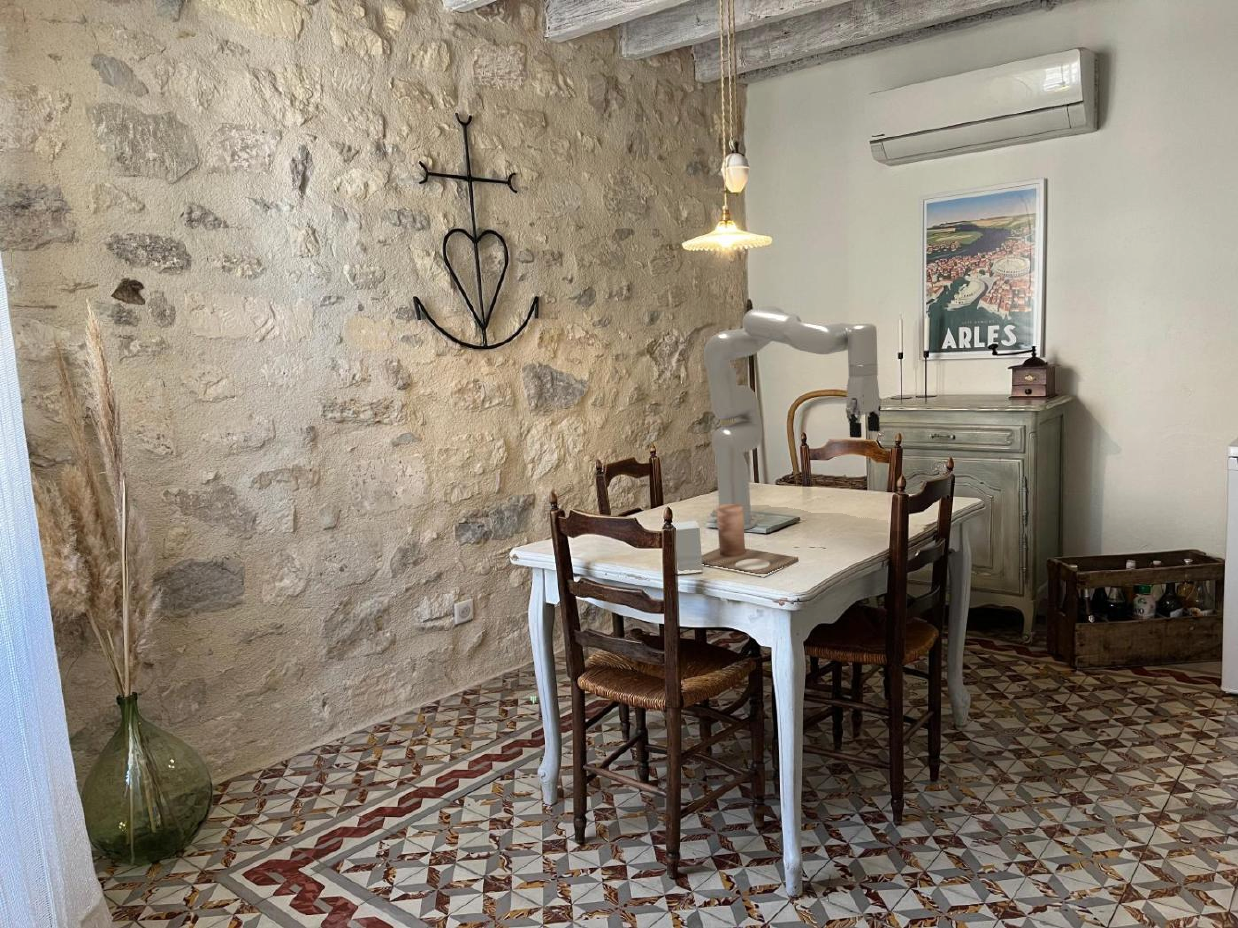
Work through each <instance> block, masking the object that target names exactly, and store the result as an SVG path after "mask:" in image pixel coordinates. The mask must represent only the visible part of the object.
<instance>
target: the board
mask: <svg viewBox="0 0 1238 928" xmlns="http://www.w3.org/2000/svg"><path fill="white" fill-rule="evenodd" d="M716 510H717V517H718V528H717V531H718V533H717V534H718V548H715V549H714V550H712V551H709V552H707V553H705V554H701V555H702V564H704V565H709V566H718V567H723V568H728V569H734V570H739V571H744V572H750V573H755V574H768V573H770V572H772V571H775V570H777V569H780V568H782V567H785V566H787V567H789V566H791V565H793V564H795V563H798V562H799V557H798V556H794V555H793V556H791V555H785V554H779V553H774V552H768V551H762V550H757V549H756V550H755V549H751V548H746V546H745V545H746V544H745V543H746V542H745V530H744V521H743V506H742V505H739V504H725V505H720V506H719V505H718V506H717V507H716ZM717 517H716V518H717ZM785 568H786V567H785Z"/></svg>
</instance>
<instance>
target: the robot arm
mask: <svg viewBox="0 0 1238 928" xmlns="http://www.w3.org/2000/svg"><path fill="white" fill-rule="evenodd" d="M741 325H742V327H741V328H737V329H736V328H735V329H729V330H723V331H720V332H717V333H716V334H713V336H711V337H710V338H709V339H708V340H707V342H706V343H705V346H704V347H703V348H704V349H703V362H704V366H705V371H706V374H707V375H706V376H707V380H708V390H709V396H710V401H711V409H712V413H713V416H714V417H715V418H716V419H718V420H720V421H730V420H733V421H734V422H733V423H728V424H726V425H722V426H720V427H719V428H718V429H717V428H716V430H715V432H714V433H713V434H712V439H711V447H712V449H713V454H714V458H715V465H716V475H717V491H718V496H717V497H718V506H720V505H725V504H739V505H742V506H743V521H744V531H745V530H750V529H753V528H755V527H756V525H757V520H756V519H755V518H753V517H752V516H751V515H752V513H751V494H750V479H749V476H750V475H749V467H748V463H747V460H746V459H745V456H744V453H747V452H751V451H753V450H755V449H757V448H758V447H759V446H760V444H761V443H762V440H763V425H762V419H761V412H760V411H761V410H760V404H759V400H758V396H757V394H756V393H755V392H754V390H753V389H752V388H751V387H750V386H748V385H743V384H742V385H738V381H737V372H736V370H735V367H734V366H733V365H732V363H731V362H730V361H731V360H734V359H740V358H746V357H750V356H754V355H755V354H757V353H759V352H760V351H762V349H764V347H767V345H769V344H770V343H771V342H776V343H781V344H785V345H788V346H789V347H792V348H794V349H795V350H798V351H803V352H807V353H811V354H817V355H830V354H834V353H840V352H846V351H847V363H848V378H847V387H846V406H845V407H846V408H845V413H846V418H847V419H848V420H847V421H848V423H849V437H850V438H853V439H854V438H858V439H860V438H862V434H863V433H862V422H861V419H862V416H864V415H868V416H867V431H868V432H880V427H881V425H880V416H881V409H882V407H881V406H882V399H883V398H881V397H880V391H879V390H880V389H879V388H880V387H879V379H878V376H879V371H878V370H879V369H878V368H879V367H878V338H877V337H878V335H877V333H878V331H877V330H878V329H877V326H876V325H875V324H873V323H858V324H857V323H855V324H853V323H852V324H851V323H844V322H843V323H833V324H828V325H816V324H815V325H814V324H809V323H805V322H802V320H801V318H800V316H799V315H798V314H795V313H789V312H785V311H784V310H783V309H782V308H780V307H778V306H773V305H772V306H771V305H769V306H763V307H755V308H751V309H750V310H748V311H747V312H746V313H745V314H744V316H743V318H742V322H741ZM710 517H712V518H716V520H717V521H716V520H715V523H714V525H715V528H716V529H718V517H717V509H712V511H711V513H710Z"/></svg>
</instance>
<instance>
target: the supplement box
mask: <svg viewBox="0 0 1238 928" xmlns="http://www.w3.org/2000/svg"><path fill="white" fill-rule="evenodd" d="M672 523H673V526H674V527H675V528H676V551H677V563H678V570H679V571H684V570H690V571H691V570H703V566H702V555H703V554H702V545H701V529H700V526H699V524H698V523H697V521H696V520H690V521H689V520H687V521H681V522H680V521H679V522H672ZM703 571H704V570H703Z"/></svg>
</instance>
